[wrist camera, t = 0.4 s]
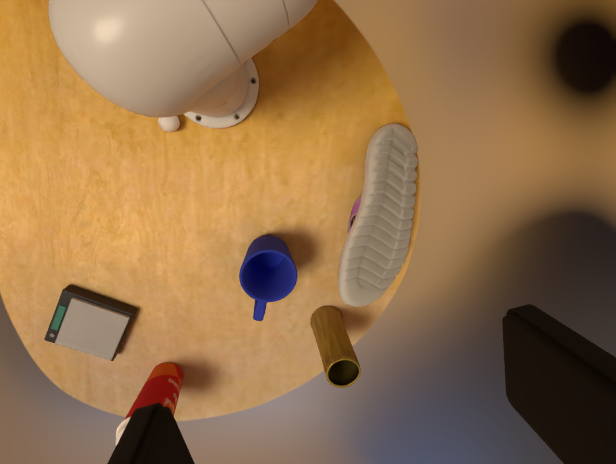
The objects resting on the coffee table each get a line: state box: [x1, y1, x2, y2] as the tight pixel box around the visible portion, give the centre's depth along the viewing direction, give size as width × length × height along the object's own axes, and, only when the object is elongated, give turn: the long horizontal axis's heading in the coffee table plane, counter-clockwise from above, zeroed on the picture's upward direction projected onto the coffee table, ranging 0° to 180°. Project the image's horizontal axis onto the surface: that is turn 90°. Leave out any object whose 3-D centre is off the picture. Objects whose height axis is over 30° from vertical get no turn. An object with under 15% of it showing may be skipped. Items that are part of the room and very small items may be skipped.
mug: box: [239, 235, 297, 321], centre depth 52 cm, size 8×12×10 cm
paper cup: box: [116, 362, 183, 446], centre depth 54 cm, size 8×8×14 cm
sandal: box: [338, 124, 418, 307], centre depth 53 cm, size 13×29×7 cm, turn 172°
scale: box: [45, 285, 137, 361], centre depth 55 cm, size 10×11×3 cm
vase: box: [311, 306, 361, 388], centre depth 55 cm, size 6×6×14 cm
